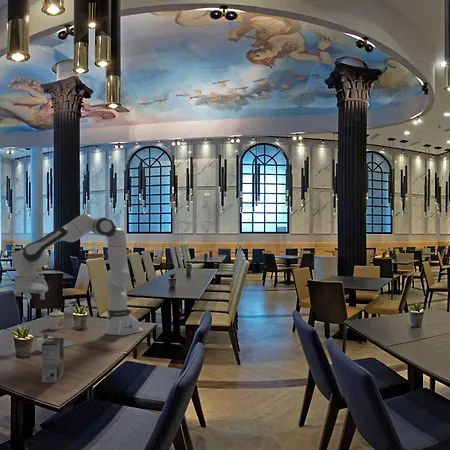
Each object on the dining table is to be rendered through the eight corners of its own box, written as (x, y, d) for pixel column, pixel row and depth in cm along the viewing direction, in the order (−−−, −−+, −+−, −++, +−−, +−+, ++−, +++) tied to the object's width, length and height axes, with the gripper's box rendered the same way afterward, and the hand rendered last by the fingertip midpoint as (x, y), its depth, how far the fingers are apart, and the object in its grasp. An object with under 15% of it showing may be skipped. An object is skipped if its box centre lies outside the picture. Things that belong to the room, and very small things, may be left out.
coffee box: (48, 374, 177) (49, 337, 177) (63, 374, 178) (64, 337, 178) (40, 382, 168) (41, 343, 168) (57, 382, 169) (57, 343, 169)
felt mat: (67, 341, 229) (67, 341, 229) (77, 344, 224) (77, 343, 224) (52, 345, 222) (52, 344, 222) (62, 348, 216) (62, 347, 216)
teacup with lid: (61, 329, 255) (61, 311, 256) (46, 329, 255) (46, 311, 255) (67, 325, 267) (67, 307, 268) (53, 325, 267) (53, 307, 267)
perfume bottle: (48, 347, 218) (48, 331, 218) (54, 349, 214) (54, 333, 214) (36, 350, 213) (36, 333, 213) (42, 352, 209) (43, 335, 209)
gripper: (17, 272, 216) (25, 294, 211) (45, 275, 235) (54, 296, 230) (8, 278, 217) (17, 301, 212) (37, 281, 236) (45, 302, 231)
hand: (36, 298), depth 221 cm, fingers open, 8 cm apart
